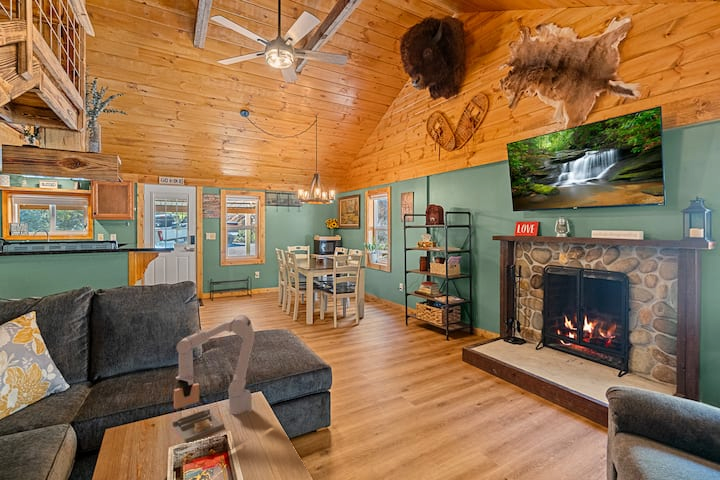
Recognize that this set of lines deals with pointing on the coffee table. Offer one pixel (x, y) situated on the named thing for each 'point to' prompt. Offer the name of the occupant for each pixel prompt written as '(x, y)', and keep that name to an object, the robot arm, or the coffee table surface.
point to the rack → (188, 424)
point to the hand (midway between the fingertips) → (186, 395)
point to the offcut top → (202, 425)
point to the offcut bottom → (203, 429)
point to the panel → (184, 401)
